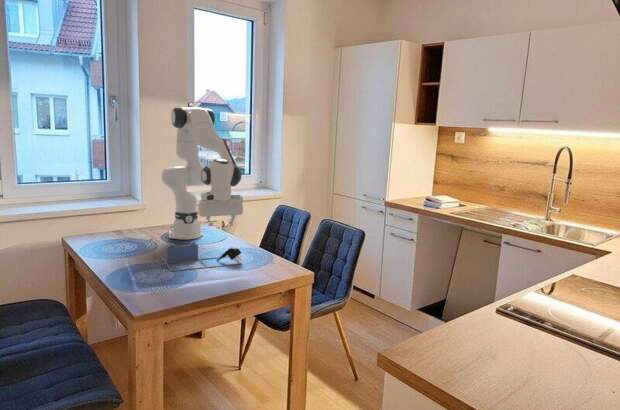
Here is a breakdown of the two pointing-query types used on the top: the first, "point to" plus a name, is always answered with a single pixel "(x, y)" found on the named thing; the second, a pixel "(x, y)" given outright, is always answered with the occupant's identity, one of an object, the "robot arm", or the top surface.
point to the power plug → (231, 254)
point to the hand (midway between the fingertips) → (220, 225)
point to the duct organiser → (187, 255)
